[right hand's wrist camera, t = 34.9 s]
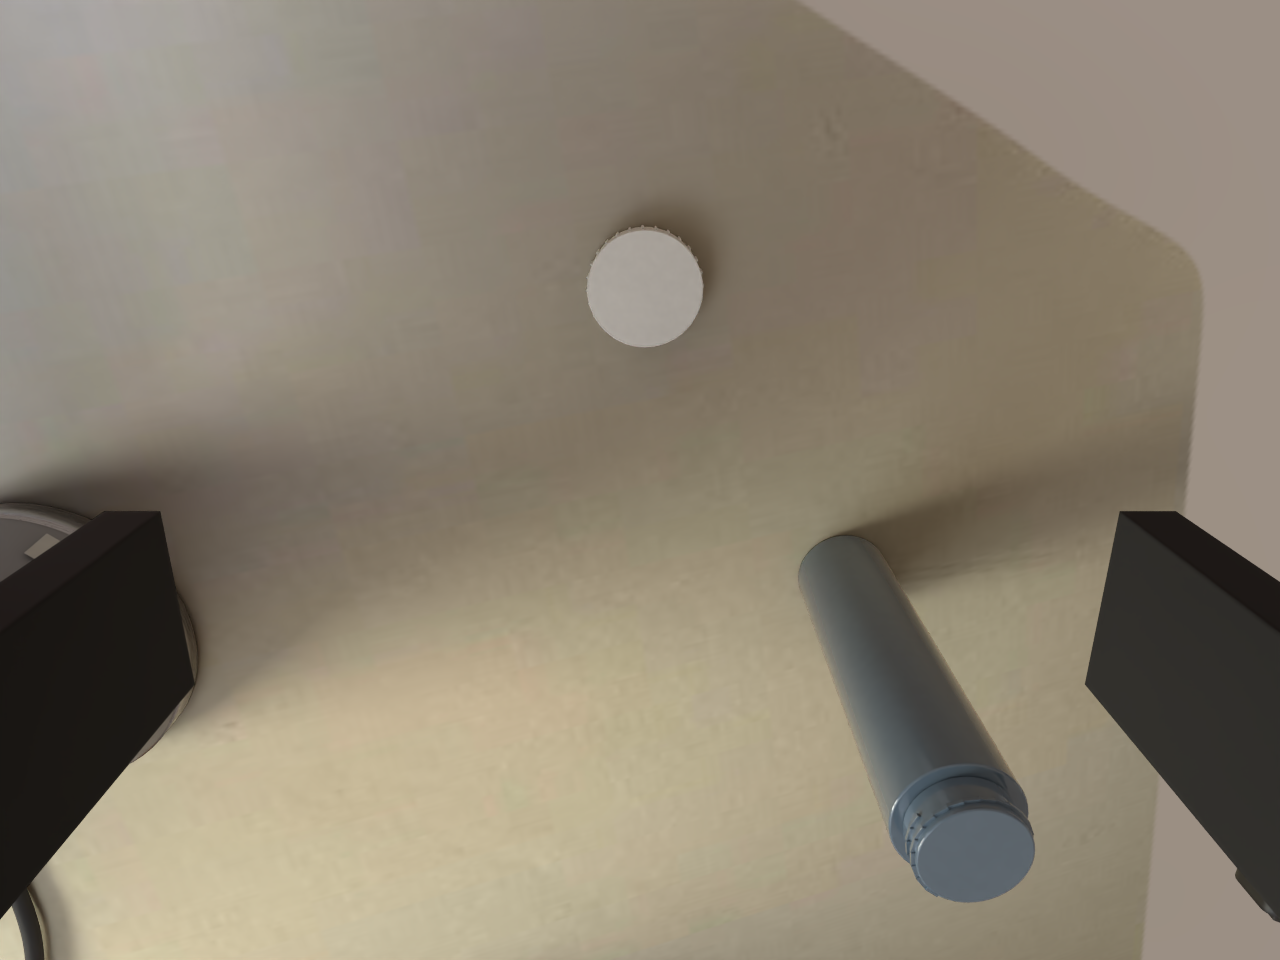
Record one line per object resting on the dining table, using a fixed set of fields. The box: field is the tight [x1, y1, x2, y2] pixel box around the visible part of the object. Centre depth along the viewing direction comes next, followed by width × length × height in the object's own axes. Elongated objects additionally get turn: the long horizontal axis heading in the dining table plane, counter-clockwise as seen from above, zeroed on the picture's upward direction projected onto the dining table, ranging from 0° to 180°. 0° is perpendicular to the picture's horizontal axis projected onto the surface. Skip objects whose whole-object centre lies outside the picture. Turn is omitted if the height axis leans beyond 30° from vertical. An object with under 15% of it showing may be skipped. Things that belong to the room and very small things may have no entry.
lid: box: [586, 225, 704, 347], centre depth 40 cm, size 5×5×2 cm
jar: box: [798, 536, 1035, 903], centre depth 37 cm, size 4×4×20 cm
